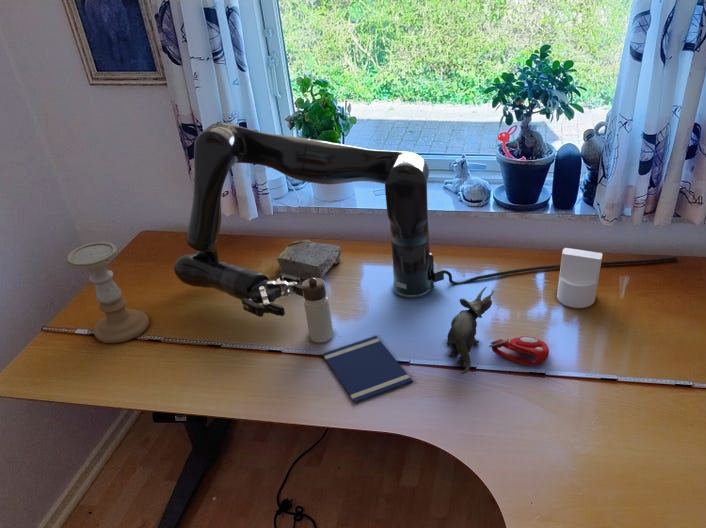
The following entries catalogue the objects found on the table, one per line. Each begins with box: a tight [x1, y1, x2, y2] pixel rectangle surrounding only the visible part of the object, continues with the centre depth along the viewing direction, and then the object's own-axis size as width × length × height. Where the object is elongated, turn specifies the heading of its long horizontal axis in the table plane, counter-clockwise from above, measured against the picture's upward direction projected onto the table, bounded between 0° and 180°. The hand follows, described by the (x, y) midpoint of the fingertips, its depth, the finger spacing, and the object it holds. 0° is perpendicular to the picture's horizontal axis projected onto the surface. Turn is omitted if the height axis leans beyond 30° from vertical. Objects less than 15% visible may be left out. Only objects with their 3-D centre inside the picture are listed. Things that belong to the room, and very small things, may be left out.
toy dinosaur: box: [446, 286, 495, 375], centre depth 132 cm, size 22×8×11 cm, turn 160°
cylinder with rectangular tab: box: [556, 247, 603, 309], centre depth 147 cm, size 9×9×12 cm
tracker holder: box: [488, 336, 550, 367], centre depth 133 cm, size 12×4×10 cm
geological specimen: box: [276, 239, 342, 280], centre depth 165 cm, size 11×6×15 cm
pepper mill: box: [301, 278, 335, 344], centre depth 138 cm, size 5×5×15 cm
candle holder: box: [65, 241, 150, 344], centre depth 142 cm, size 12×12×20 cm
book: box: [322, 335, 414, 404], centre depth 133 cm, size 13×18×1 cm
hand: (296, 302), depth 141 cm, fingers open, 8 cm apart
